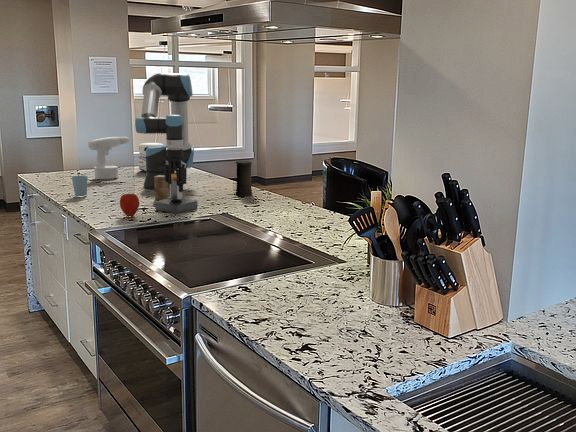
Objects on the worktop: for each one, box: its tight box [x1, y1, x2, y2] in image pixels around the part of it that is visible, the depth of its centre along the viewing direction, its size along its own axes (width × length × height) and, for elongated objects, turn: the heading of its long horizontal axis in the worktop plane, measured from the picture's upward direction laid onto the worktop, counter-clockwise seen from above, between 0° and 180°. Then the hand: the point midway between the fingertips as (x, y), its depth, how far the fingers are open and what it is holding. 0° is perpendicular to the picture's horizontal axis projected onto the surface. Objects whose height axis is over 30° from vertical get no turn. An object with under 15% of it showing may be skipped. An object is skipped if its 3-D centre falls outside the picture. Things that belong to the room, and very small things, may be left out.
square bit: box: [154, 175, 170, 201], centre depth 291 cm, size 5×5×12 cm
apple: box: [119, 193, 140, 217], centre depth 254 cm, size 9×8×11 cm
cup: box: [71, 175, 89, 197], centre depth 294 cm, size 8×8×10 cm
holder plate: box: [154, 197, 199, 215], centre depth 271 cm, size 14×14×4 cm
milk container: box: [138, 142, 164, 173], centre depth 372 cm, size 17×17×18 cm
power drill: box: [87, 136, 130, 180], centre depth 345 cm, size 8×24×25 cm, turn 122°
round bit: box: [171, 172, 181, 202], centre depth 269 cm, size 4×4×16 cm
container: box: [235, 160, 253, 197], centre depth 305 cm, size 9×9×18 cm
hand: (176, 197), depth 270 cm, fingers closed on round bit, 4 cm apart
